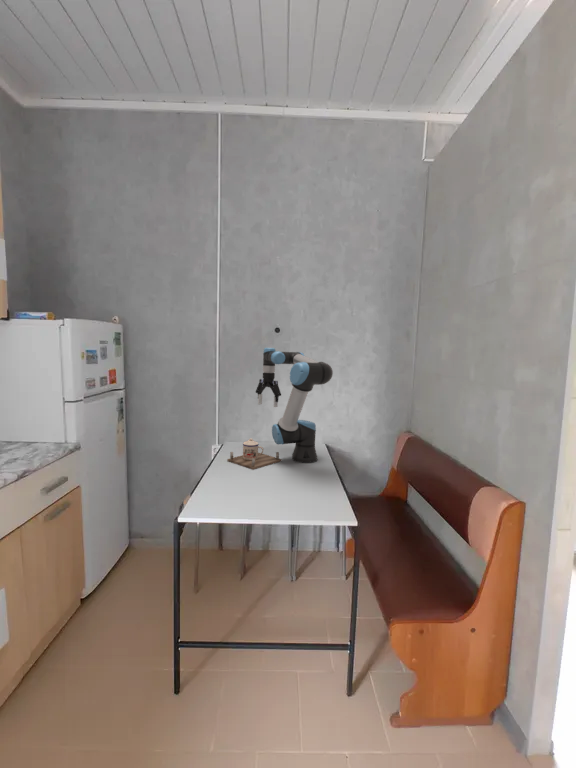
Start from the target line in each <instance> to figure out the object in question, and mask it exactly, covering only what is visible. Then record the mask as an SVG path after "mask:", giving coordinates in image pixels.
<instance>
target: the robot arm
mask: <svg viewBox="0 0 576 768" xmlns="http://www.w3.org/2000/svg"><path fill="white" fill-rule="evenodd" d="M262 354H263V361H262V378H260V379H259V381H258V384H257V387H256V389H255V393H256V394H257V399H258V401H257V405H262V404H263V394H262V393H263V392H264V390H265V389H266V388H270V390H271V391H272V393H273V395H274V396H273V408H277V407H278V402H279V397H282V393H281V389H280V387H279V382H278V380H274V379H275V377H276V376H275V374H276V373H275V371H276V365H292V367H291V368H290V370H289V380H290V383H291V385H292V387H291V388H292V389H291V391H290V395H289V398H288V401H287V403H286V407H285V409H284V412H283V415H282V417H280V418H279V419H278V422H277V423H274V424H273V425H272V426H271V435H272V439H273V441H274V442H275V444H276V445H288V444H289V445H291V444H294V445H295V446H294V449H293V452H292V453H291V459H292V461H294V462H298V463H305V464H308V463H314V462H317V461H318V454H317V450H316V432H317V427H316V423H315V422H313V421H311V420H304V419H299V418H300V415H301V414H302V413H301V412H302V410H303V408H304V404H305V403H306V399H307V396H308V394H309V393H310V392H312V391H313V388H314V386H317V385H320V386H321V385H325V384H327V383H329V382H330V381H331V379H332V377H333V374H334V371H333V369H332V367H331V365H330V364H328V363H326V362H324V361H317V360H316V359H312V358H310V357H308V356H305V354H304V353H303V352H301V351H279V350H278V351H276V347H275V348H274V347H264V349H263V353H262Z"/></svg>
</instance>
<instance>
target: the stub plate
mask: <svg viewBox="0 0 576 768" xmlns="http://www.w3.org/2000/svg"><path fill="white" fill-rule="evenodd" d="M260 453H261V452H258V454H260ZM275 453H276V455H275V457H274V456H271V455H267V454H265V453H262V454H261V455H258V459H256V460H255V459H252V460H245V459H243V454H241V455H239V456H235V457H234V452H233V451H230V456H229V457H230V458H227V460H226V461H227V462H229V463H232V464H235V465H238V466H240V467H244V468H246V469H250V470H252V471H253V470H257V469H260V468H263V467H267V466H271V465H274V464H276V463H277V464H278V463H280V461H281V462H282V461H283V460H282V459H281V458H280V452H279V451H277V452H275ZM273 463H274V464H273Z"/></svg>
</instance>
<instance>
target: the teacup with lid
mask: <svg viewBox="0 0 576 768" xmlns="http://www.w3.org/2000/svg"><path fill="white" fill-rule="evenodd" d="M259 445H260V444H259V442H257V441H255V440H253V438H249V439H248V440H247V441H244V442H243V443H242V446H243V447H242V455H243V459H245V460H252V459H255V460H256V459H258V455H261V454H264V448H263V446H259ZM259 449H261V452H259ZM258 453H260V454H258Z"/></svg>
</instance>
